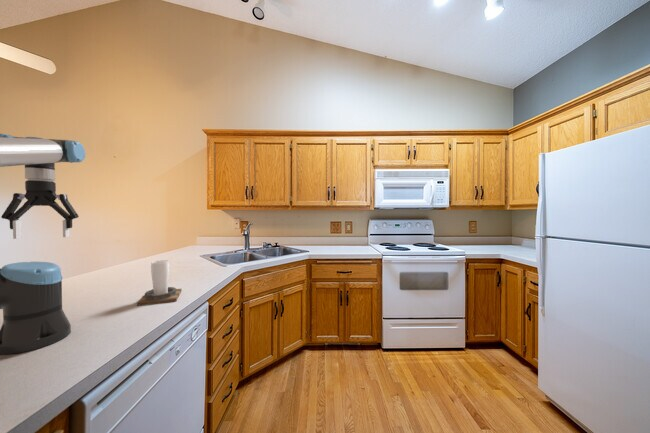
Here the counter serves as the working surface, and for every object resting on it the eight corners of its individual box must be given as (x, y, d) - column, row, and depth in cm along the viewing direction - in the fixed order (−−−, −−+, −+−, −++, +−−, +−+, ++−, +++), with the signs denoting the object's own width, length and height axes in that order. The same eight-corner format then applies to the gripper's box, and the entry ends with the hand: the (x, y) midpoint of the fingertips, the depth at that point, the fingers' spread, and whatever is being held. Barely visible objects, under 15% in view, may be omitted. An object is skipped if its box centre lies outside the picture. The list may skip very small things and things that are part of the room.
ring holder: (176, 301, 108) (176, 294, 108) (137, 305, 103) (137, 298, 103) (181, 291, 121) (181, 284, 121) (146, 294, 116) (146, 288, 116)
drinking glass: (153, 293, 114) (152, 260, 113) (170, 291, 117) (170, 259, 116) (150, 298, 108) (149, 264, 107) (168, 296, 111) (168, 262, 110)
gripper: (88, 183, 102) (89, 235, 103) (1, 180, 93) (4, 237, 93) (78, 181, 95) (80, 237, 96) (-17, 178, 86) (-14, 240, 86)
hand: (42, 237), depth 95 cm, fingers open, 13 cm apart
